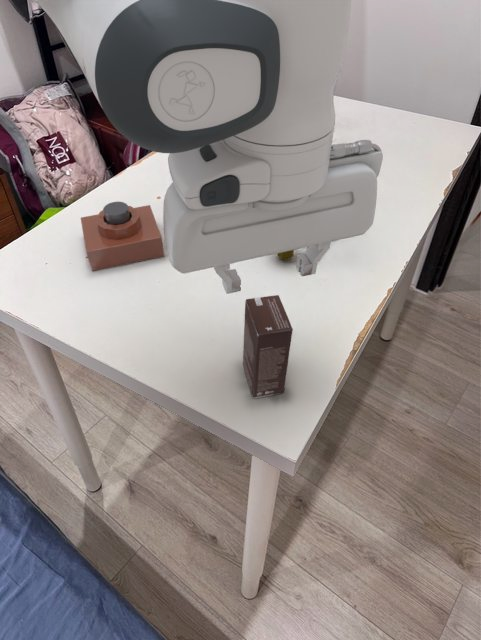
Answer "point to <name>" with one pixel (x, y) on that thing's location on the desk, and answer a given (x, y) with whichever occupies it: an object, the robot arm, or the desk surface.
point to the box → (266, 345)
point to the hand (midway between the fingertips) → (269, 280)
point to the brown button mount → (122, 239)
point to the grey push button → (116, 213)
